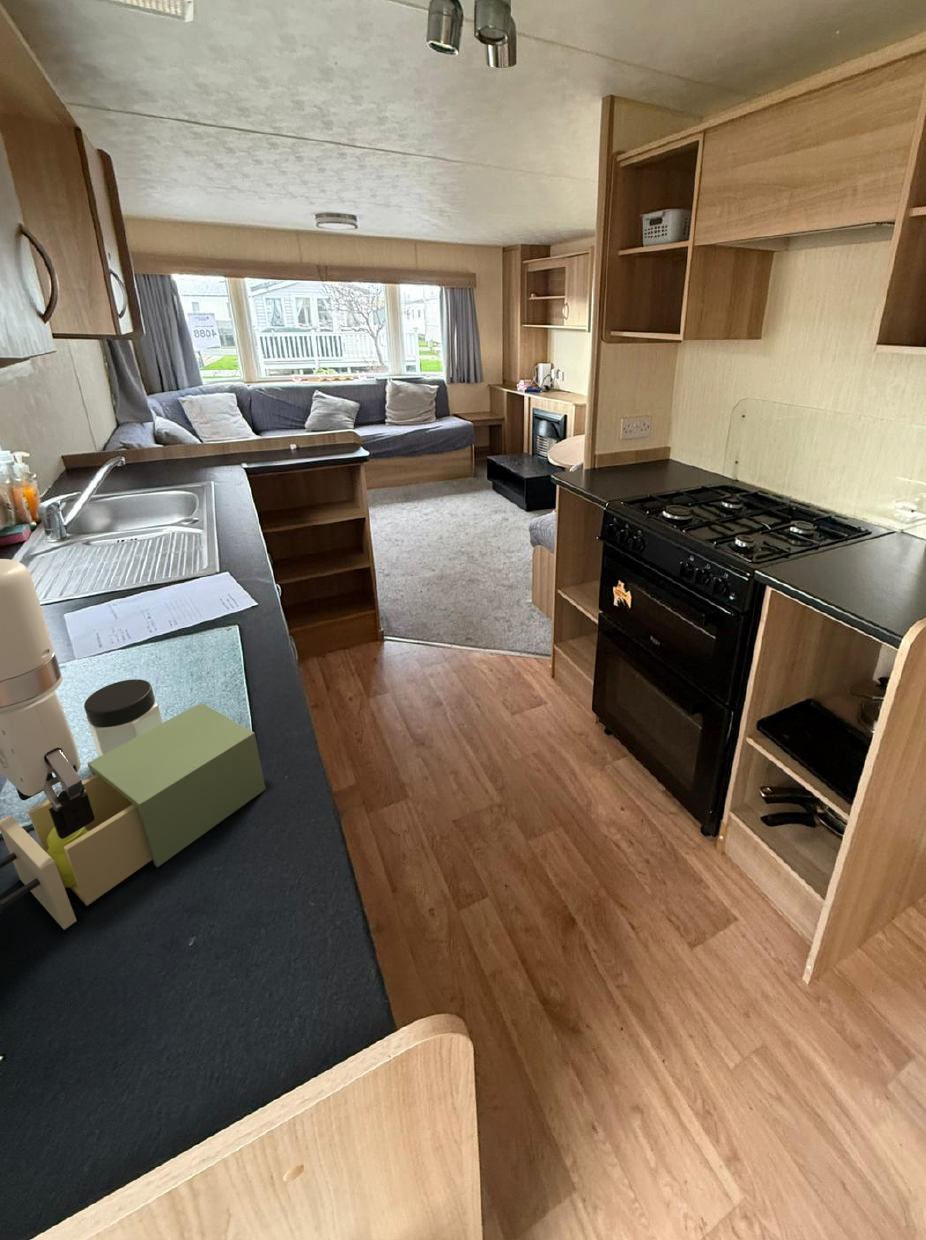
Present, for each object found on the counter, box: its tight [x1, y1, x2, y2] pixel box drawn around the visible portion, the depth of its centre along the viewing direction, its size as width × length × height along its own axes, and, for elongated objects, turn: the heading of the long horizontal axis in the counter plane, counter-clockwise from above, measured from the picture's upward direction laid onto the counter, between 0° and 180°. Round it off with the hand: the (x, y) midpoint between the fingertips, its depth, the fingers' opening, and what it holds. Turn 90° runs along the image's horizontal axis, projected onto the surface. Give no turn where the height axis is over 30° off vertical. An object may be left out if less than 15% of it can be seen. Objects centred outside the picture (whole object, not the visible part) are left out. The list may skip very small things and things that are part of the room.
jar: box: [83, 678, 164, 757], centre depth 84 cm, size 9×8×12 cm
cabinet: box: [87, 702, 266, 868], centre depth 76 cm, size 15×13×11 cm
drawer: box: [0, 774, 153, 930], centre depth 66 cm, size 18×11×9 cm, turn 148°
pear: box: [47, 826, 89, 889], centre depth 66 cm, size 5×5×8 cm
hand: (57, 809), depth 64 cm, fingers open, 9 cm apart
